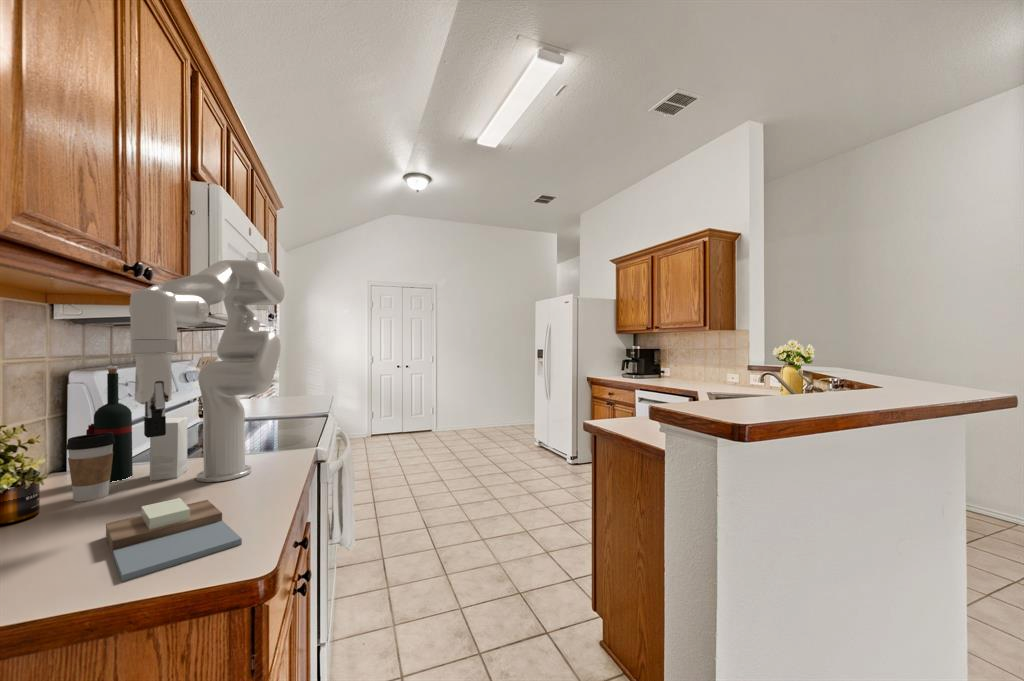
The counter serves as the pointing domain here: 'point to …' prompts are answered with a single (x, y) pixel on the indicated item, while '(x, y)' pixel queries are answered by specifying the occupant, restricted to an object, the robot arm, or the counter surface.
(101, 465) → the coffee cup
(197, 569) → the counter surface
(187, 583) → the counter surface
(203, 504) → the walnut deck
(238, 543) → the slate mat
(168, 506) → the sage tile
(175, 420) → the skincare box
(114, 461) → the wine bottle
